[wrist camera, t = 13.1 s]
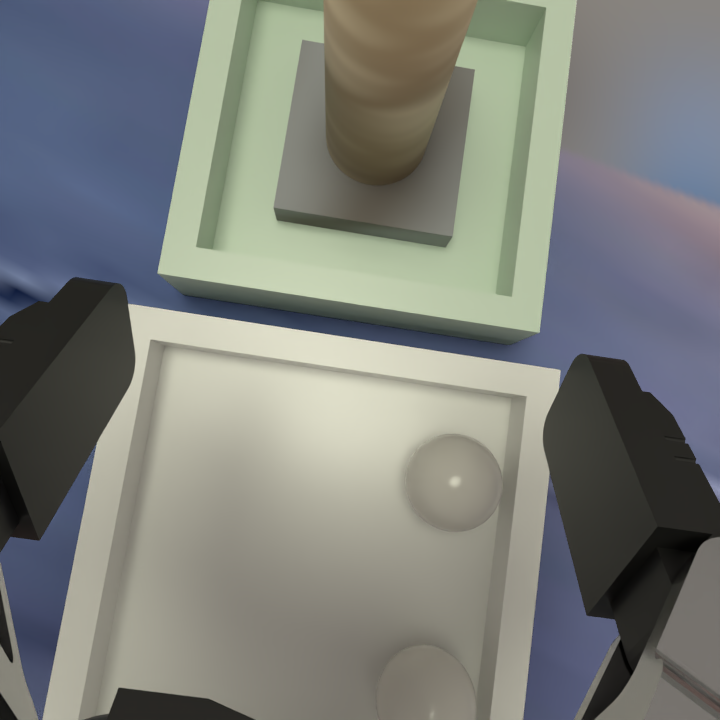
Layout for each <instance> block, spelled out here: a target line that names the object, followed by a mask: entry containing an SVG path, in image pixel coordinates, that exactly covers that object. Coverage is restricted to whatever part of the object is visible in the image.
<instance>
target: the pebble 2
mask: <svg viewBox="0 0 720 720" xmlns="http://www.w3.org/2000/svg"><path fill="white" fill-rule="evenodd" d="M376 710H377V716H378V719H379V720H475V719H476V713H477V702H476V694H475V689H474V686H473V683H472V680H471V678H470V676H469V674H468V672H467V671H466V669H465V668H464V666H463V665H462V664H461V663H460V661H459V660H458V659H457V658H455V657H454V656H453V655H452V654H450V653H449V652H447V651H446V650H444V649H442V648H439V647H436V646H432V645H424V644H421V645H414V646H410V647H407V648H405V649H403V650H401V651H400V652H398V653H397V654H395V655H394V656H393V657H392V658H391V659H390V660H389V662H388V663H387V664H386V666H385V667H384V669H383V671H382V673H381V675H380V678H379V681H378V684H377V689H376Z"/></svg>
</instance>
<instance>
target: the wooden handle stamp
mask: <svg viewBox="0 0 720 720" xmlns="http://www.w3.org/2000/svg"><path fill="white" fill-rule="evenodd" d="M477 1H478V0H323V6H324V43H318V42H313V41H307V40H302V44H301V50H300V56H299V61H298V67H297V73H296V79H295V85H294V91H293V96H292V102H291V108H290V114H289V120H288V126H287V131H286V137H285V143H284V149H283V155H282V160H281V166H280V172H279V178H278V184H277V190H276V195H275V201H274V207H273V208H274V212H275V215H276V219H277V221H284V222H290V223H296V224H302V225H308V226H315V227H321V228H327V229H333V230H340V231H346V232H352V233H358V234H364V235H371V236H377V237H383V238H389V239H396V240H402V241H408V242H414V243H420V244H427V245H433V246H439V247H446V246H447V244H448V243H449V241H450V240H451V238H452V237H453V230H454V223H455V215H456V208H457V200H458V193H459V185H460V178H461V170H462V163H463V155H464V148H465V141H466V133H467V126H468V118H469V111H470V103H471V96H472V88H473V81H474V73H475V69H469V68H463V67H458V66H455V64H456V61H457V58H458V56H459V53H460V50H461V47H462V44H463V41H464V38H465V36H466V33H467V30H468V27H469V24H470V21H471V18H472V16H473V13H474V10H475V7H476V4H477Z"/></svg>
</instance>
